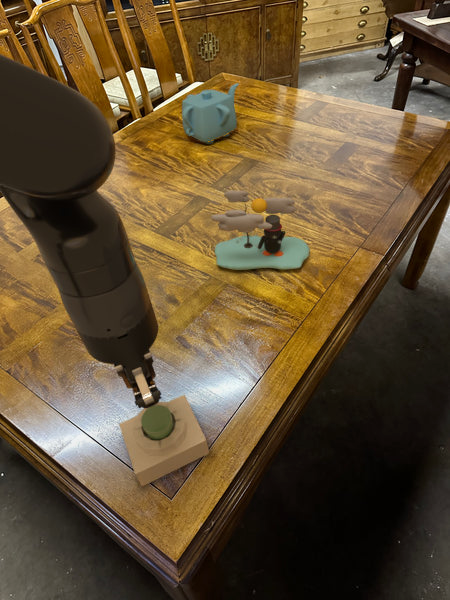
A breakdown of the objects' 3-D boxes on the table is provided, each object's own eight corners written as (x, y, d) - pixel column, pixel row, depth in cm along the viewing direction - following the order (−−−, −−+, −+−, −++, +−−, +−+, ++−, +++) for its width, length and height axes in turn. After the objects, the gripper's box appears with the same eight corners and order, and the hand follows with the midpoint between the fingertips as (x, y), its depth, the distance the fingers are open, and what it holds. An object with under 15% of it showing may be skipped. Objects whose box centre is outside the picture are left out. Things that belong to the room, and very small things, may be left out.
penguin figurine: (309, 243, 90) (314, 179, 79) (308, 276, 83) (313, 210, 72) (218, 241, 93) (211, 179, 83) (210, 272, 86) (200, 209, 75)
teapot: (231, 147, 126) (228, 101, 117) (179, 147, 129) (172, 102, 120) (241, 122, 138) (239, 79, 129) (193, 123, 142) (188, 80, 132)
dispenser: (142, 486, 56) (131, 467, 52) (126, 437, 62) (115, 416, 57) (209, 453, 59) (204, 432, 54) (188, 408, 64) (182, 386, 60)
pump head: (149, 445, 54) (146, 437, 53) (140, 420, 57) (137, 412, 56) (178, 431, 55) (175, 424, 54) (168, 408, 58) (165, 400, 57)
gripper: (59, 278, 43) (108, 374, 56) (86, 371, 35) (136, 461, 47) (128, 254, 45) (160, 352, 57) (170, 336, 36) (198, 431, 49)
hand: (150, 401), depth 52 cm, fingers closed
